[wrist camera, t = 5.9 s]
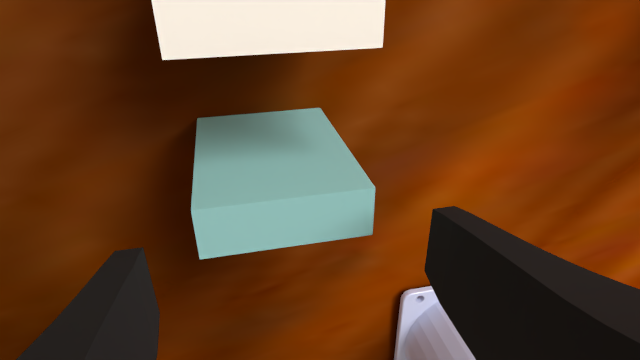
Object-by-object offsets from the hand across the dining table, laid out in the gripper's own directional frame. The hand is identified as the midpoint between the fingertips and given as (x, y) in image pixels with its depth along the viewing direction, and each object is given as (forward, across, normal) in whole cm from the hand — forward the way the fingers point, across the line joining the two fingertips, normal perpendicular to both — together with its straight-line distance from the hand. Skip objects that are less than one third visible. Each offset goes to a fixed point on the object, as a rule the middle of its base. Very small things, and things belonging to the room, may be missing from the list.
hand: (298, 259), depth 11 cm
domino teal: (+8, 0, 0) cm, 8 cm away
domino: (+8, 0, -6) cm, 10 cm away
